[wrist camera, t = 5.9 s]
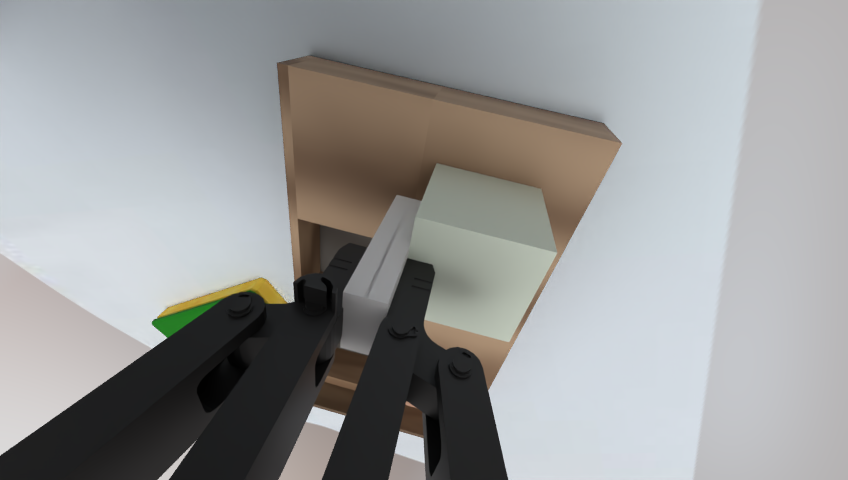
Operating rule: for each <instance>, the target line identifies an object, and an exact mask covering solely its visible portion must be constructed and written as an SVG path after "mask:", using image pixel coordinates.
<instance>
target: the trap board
mask: <svg viewBox="0 0 848 480" xmlns="http://www.w3.org/2000/svg"><path fill="white" fill-rule="evenodd" d="M277 69H278V81H279V94H280V106H281V119H282V131H283V143H284V156H285V168H286V181H287V193H288V205H289V218H290V230H291V243H292V255H293V267H294V280H295V281H296V280H297V279H298V278H299V277H301V276H304V275H306V274H312V273H320V274H323V272H324V271H325V269H326V268H327V266H329V263H330V262H331V260H332V259H333V257H334V256H335V254H336V253H337V251H338V250H339V249H340V248H341V247H343V246H345V245H346V244H348V243H352V244H356V245H360V246H364V247H368V246H369V244H370V242H371V240H372V239H373V237H374V235H375V233H376V231H377V230H378V228H379V226H380V224H381V222H382V221H383V219H384V217H385V215H386V213H387V211H388V210H389V208H390V206H391V204H392V202H393V201H394V199H395V197H396V195H400V196H404V197H408V198H412V199H416V200H420V201H422V199H423V196H424V194H425V191H426V189H427V186H428V184H429V181H430V178H431V176H432V173H433V171H434V168H435V166H436V163H438V164H442V165H446V166H450V167H454V168H458V169H462V170H466V171H471V172H475V173H479V174H483V175H487V176H491V177H495V178H499V179H503V180H507V181H511V182H515V183H519V184H523V185H527V186H531V187H535V188H539V189H541V190H542V194H543V198H544V202H545V206H546V209H547V213H548V217H549V221H550V225H551V229H552V233H553V237H554V241H555V245H556V249H557V255H556V256H555V258H554V260H553V262H552V264H551V266H550V268H549V269H548V271H547V273H546V275H545V277H544V279H543V281H542V282H541V284H540V286H539V288H538V290H537V292H536V293H535V295H534V297H533V299H532V301H531V303H530V305H529V306H528V308H527V310H526V312H525V314H524V316H523V318H522V319H521V321H520V323H519V325H518V327H517V329H516V330H515V332H514V334H513V336H512V338H511V340H510V342H506V341H502V340H498V339H495V338H491V337H487V336H483V335H480V334H476V333H472V332H468V331H465V330H461V329H457V328H453V327H450V326H446V325H442V324H438V323H435V322H431V321H427V320H424V328H425V331H426V333H427V335H428V336H429V338H430V339H431V340H432V341H433V342H435V343H436V344H437V345H439V346H441V347H442V348H444V349H446V350H447V349H449V348H452V347H460V348H465V349H467V350H469V351H471V352H472V353H474V354H475V355H476V356H477V358H478V359H479V360H480V362H481V364H482V367H483V370H484V375H485V379H486V384H487V388H488V390H489V388H490V386H491V384H492V382H493V381H494V379H495V377H496V375H497V373H498V371H499V369H500V368H501V366H502V364H503V362H504V360H505V358H506V357H507V355H508V353H509V351H510V349H511V347H512V345H513V344H514V342H515V340H516V338H517V336H518V334H519V333H520V331H521V329H522V327H523V325H524V323H525V322H526V320H527V318H528V316H529V314H530V312H531V310H532V309H533V307H534V305H535V303H536V301H537V299H538V298H539V296H540V294H541V292H542V290H543V288H544V286H545V285H546V283H547V281H548V279H549V277H550V275H551V274H552V272H553V270H554V268H555V266H556V264H557V263H558V261H559V259H560V257H561V255H562V253H563V251H564V250H565V248H566V246H567V244H568V242H569V240H570V239H571V237H572V235H573V233H574V231H575V229H576V227H577V226H578V224H579V222H580V220H581V218H582V216H583V215H584V213H585V211H586V209H587V207H588V205H589V204H590V202H591V200H592V198H593V196H594V194H595V192H596V191H597V189H598V187H599V185H600V183H601V181H602V180H603V178H604V176H605V174H606V172H607V170H608V168H609V167H610V165H611V163H612V161H613V159H614V157H615V156H616V154H617V152H618V150H619V148H620V146H621V145H622V143H621V142H620V140H619V139H618V138H617V137H616V136H615V135H614V134H613V133H612V132H611V131H610V130H609V129H608V128H607V126H606V125H605V124H604V123H600V122H595V121H591V120H587V119H582V118H578V117H574V116H569V115H565V114H561V113H556V112H552V111H548V110H543V109H539V108H535V107H530V106H526V105H522V104H517V103H513V102H509V101H504V100H500V99H496V98H491V97H487V96H483V95H478V94H474V93H470V92H465V91H461V90H457V89H452V88H448V87H444V86H439V85H435V84H431V83H426V82H422V81H418V80H413V79H409V78H405V77H400V76H396V75H392V74H387V73H383V72H379V71H374V70H370V69H366V68H361V67H357V66H353V65H348V64H344V63H340V62H335V61H331V60H327V59H322V58H318V57H313V56H305V57H301V58H296V59H292V60H288V61H283V62H279V63H277ZM340 341H341V339H340ZM367 357H368V355H366V354H362V353H358V352H355V351H351V350H348V349H344V348H340V342H339V344H338V346H337V348H336V350H335V358H334V362H333V365H332V367H331V369H330V371H329V373H328V375H327V377H326V379H325V382H324V384H323V386H322V388H321V390H320V392H319V394H318V396H317V399H316V401H315V403H314V405H313V406H314V407H318V408H321V409H325V410H328V411H331V412H335V413H338V414H342V415H345V416H346V414H347V411H348V408H349V406H350V403H351V400H352V398H353V395H354V392H355V390H356V387H357V384H358V382H359V379H360V376H361V374H362V371H363V368H364V365H365V363H366V360H367ZM400 431H401V432H404V433H408V434H411V435H415V436H418V437H421V438H424V436H423V418H422V411H420V410H419V409H417V408H416V407H415V406H413V405H412V404H410V403H409V402H407V401H406V404H405V409H404V413H403V418H402V422H401V426H400Z"/></svg>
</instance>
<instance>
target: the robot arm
mask: <svg viewBox="0 0 848 480" xmlns="http://www.w3.org/2000/svg"><path fill="white" fill-rule="evenodd" d="M420 204H421V201H420V200H416V199H412V198H408V197H404V196H400V195H396V197H395V199H394V201H393V202H392V204H391V206H390V208H389V210H388V211H387V213H386V215H385V217H384V219H383V221H382V222H381V224H380V226H379V228H378V230H377V231H376V233H375V235H374V237H373V239H372V240H371V242H370V244H369V246H368V247H364V246H360V245H356V244H352V243H348V244H346V245H345V246H343V247H341V248H340V249H339V250H338V251H337V253H336V254H335V256H334V257H333V259H332V260H331V262H330V263H329V266H327V268H326V269H325V271H324V272H323V274H320V273H312V274H306V275H304V276H301V277H299V278H298V279H297V280H296V281H294V282H293V285H294V299H295V302H292V303H284V304H265V302H264V299H263V298H262V297H261V296H260V295H258V294H256V293H252V292H239V293H235V294H232V295H230V296H228V297H226V298H224V299H222V300H221V301H220V302H218V303H217V304H215V305H214V306H212V307H211V308H210V309H208V310H207V311H205V312H204V313H203V314H201V315H200V316H198V317H197V318H195V319H194V320H193V321H191V322H190V323H188V324H187V325H185V326H184V327H183V328H181V329H180V330H178V331H177V332H175V333H174V334H173V335H171V336H170V337H168V338H167V339H166V340H164V341H163V342H161V343H160V344H158V345H157V346H156V347H154V348H153V349H151V350H150V351H149V352H147V353H146V354H144V355H143V356H141V357H140V358H139V359H137V360H136V361H134V362H133V363H131V364H130V365H129V366H127V367H126V368H124V369H123V370H122V371H120V372H119V373H117V374H116V375H114V376H113V377H112V378H110V379H109V380H107V381H106V382H104V383H103V384H102V385H100V386H99V387H97V388H96V389H94V390H93V391H92V392H90V393H89V394H87V395H86V396H85V397H83V398H82V399H80V400H79V401H77V402H76V403H74V404H73V405H72V406H70V407H69V408H67V409H66V410H65V411H63V412H62V413H60V414H59V415H58V416H56V417H55V418H53V419H52V420H50V421H49V422H47V423H46V424H45V425H43V426H42V427H40V428H39V429H38V430H36V431H35V432H33V433H32V434H30V435H29V436H28V437H26V438H25V439H23V440H22V441H20V442H19V443H18V444H16V445H15V446H13V447H12V448H10V449H9V450H8V451H6V452H5V453H3V454H2V455H1V456H0V480H157V479H159V477H160V476H161V475H162V474H163V473H164V472H165V471H166V470H167V469H168V468H169V467H170V466H171V465H172V464H173V463H174V462H175V461H176V460H177V459H178V458H179V457H180V456H181V455H182V454H183V453H184V452H185V451H186V450H187V449H188V448H189V447H190V446H191V445H192V444H193V443H194V442H195V441H196V440H197V441H196V442H195V444H194V445H193V447H192V448H191V449H190V451H189V452H188V454H187V455H186V456H185V458H184V459H183V461H182V462H181V463H180V465H179V466H178V468H177V469H176V470H175V472H174V473H173V475H172V476H171V478H170V479H169V480H278V479H279V477H280V475H281V473H282V471H283V469H284V467H285V464H286V462H287V460H288V458H289V456H290V454H291V452H292V449H293V447H294V445H295V443H296V441H297V439H298V437H299V435H300V433H301V430H302V428H303V426H304V424H305V422H306V420H307V418H308V416H309V413H310V411H311V409H312V407H313V405H314V403H315V401H316V399H317V396H318V394H319V392H320V390H321V388H322V386H323V384H324V382H325V379H326V377H327V375H328V373H329V371H330V369H331V367H332V365H333V362H334V358H335V350H336V348H337V346H338V344H339V342H340V348H344V349H348V350H351V351H355V352H358V353H362V354H366V355H368V357H367V360H366V363H365V365H364V368H363V371H362V374H361V376H360V379H359V382H358V384H357V387H356V390H355V392H354V395H353V398H352V400H351V403H350V406H349V408H348V411H347V414H346V416H345V419H344V422H343V424H342V427H341V430H340V432H339V435H338V438H337V441H336V443H335V446H334V449H333V451H332V454H331V457H330V459H329V462H328V465H327V468H326V470H325V473H324V476H323V478H322V480H388V478H389V474H390V470H391V465H392V461H393V456H394V452H395V448H396V444H397V439H398V435H399V431H400V426H401V422H402V418H403V413H404V409H405V404H406V401H407V402H409V403H410V404H412V405H413V406H415V407H416V408H417V409H419V410H420V411H422V418H423V436H424V454H425V471H426V480H508V477H507V473H506V468H505V464H504V459H503V455H502V450H501V446H500V441H499V437H498V433H497V428H496V424H495V419H494V415H493V410H492V406H491V401H490V397H489V392H488V388H487V384H486V379H485V375H484V370H483V367H482V364H481V362H480V360H479V359H478V358H477V356H476V355H475V354H474V353H472V352H471V351H469V350H467V349H465V348H460V347H452V348H449V349H447V350H446V349H444V348H442V347H441V346H439V345H437V344H436V343H435V342H433V341H432V340H431V339H430V338H429V336H428V335H427V333H426V331H425V328H424V319H425V315H426V310H427V306H428V302H429V298H430V293H431V289H432V285H433V281H434V276H435V271H434V267H433V265H432V264H428V263H425V262H421V261H417V260H413V259H409V258H408V252H409V247H410V242H411V237H412V231H413V226H414V221H415V216H416V214H417V211H418V209H419V206H420ZM340 339H341V341H340Z"/></svg>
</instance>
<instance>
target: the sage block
mask: <svg viewBox="0 0 848 480" xmlns="http://www.w3.org/2000/svg"><path fill="white" fill-rule="evenodd" d="M556 255H557V249H556V245H555V241H554V237H553V233H552V229H551V225H550V221H549V217H548V213H547V209H546V206H545V202H544V198H543V194H542V190H541V189H539V188H535V187H531V186H527V185H523V184H519V183H515V182H511V181H507V180H503V179H499V178H495V177H491V176H487V175H483V174H479V173H475V172H471V171H466V170H462V169H458V168H454V167H450V166H446V165H442V164H438V163H436V166H435V168H434V171H433V173H432V176H431V178H430V181H429V184H428V186H427V189H426V191H425V194H424V196H423V199H422V201H421V204H420V206H419V209H418V211H417V214H416V216H415V221H414V226H413V231H412V237H411V242H410V247H409V252H408V258H409V259H413V260H417V261H421V262H425V263H428V264H432V265H433V267H434V271H435V276H434V281H433V285H432V289H431V293H430V298H429V302H428V306H427V310H426V315H425V319H424V320H427V321H431V322H435V323H438V324H442V325H446V326H450V327H453V328H457V329H461V330H465V331H468V332H472V333H476V334H480V335H483V336H487V337H491V338H495V339H498V340H502V341H506V342H510V340H511V338H512V336H513V334H514V332H515V330H516V329H517V327H518V325H519V323H520V321H521V319H522V318H523V316H524V314H525V312H526V310H527V308H528V306H529V305H530V303H531V301H532V299H533V297H534V295H535V293H536V292H537V290H538V288H539V286H540V284H541V282H542V281H543V279H544V277H545V275H546V273H547V271H548V269H549V268H550V266H551V264H552V262H553V260H554V258H555V256H556Z"/></svg>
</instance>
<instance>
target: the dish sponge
mask: <svg viewBox="0 0 848 480" xmlns="http://www.w3.org/2000/svg"><path fill="white" fill-rule="evenodd" d="M239 292H252V293H256V294H258V295H260V296H261V297H262V298H263V299H264V302H265V304H284V303H287V302H286V301H285V300H284V299H283V298H282V297H281V296H280V294H279V293H278V292H277V291H276V290H275V289H274V288H273V286H272V285H271V284H270V283H269V282H268V281H267V280H266V279H263V278H258V279H255V280H252V281H249V282H246V283H243V284H240V285H237V286H233V287H230V288H227V289H224V290H221V291H218V292H215V293H212V294H209V295H205V296H202V297H199V298H196V299H193V300H190V301H187V302H184V303H181V304H177V305H174V306H171V307H168V308H167V309H166V310H165V311H164V312H162V313H161V314H160V315H159V316H158V317H157V319H154V320H153V321H152V325H153V326H154V327H155V328H157V329H158V330H159V331H160V332H161V333H163V334H164V335H165V336H166V337H167V338H168V337H170V336H171V335H173V334H174V333H175V332H177V331H178V330H180V329H181V328H183V327H184V326H185V325H187V324H188V323H190V322H191V321H193V320H194V319H195V318H197V317H198V316H200V315H201V314H203V313H204V312H205V311H207V310H208V309H210V308H211V307H212V306H214V305H215V304H217V303H218V302H220V301H221V300H222V299H224V298H226V297H228V296H230V295H232V294H235V293H239Z"/></svg>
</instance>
